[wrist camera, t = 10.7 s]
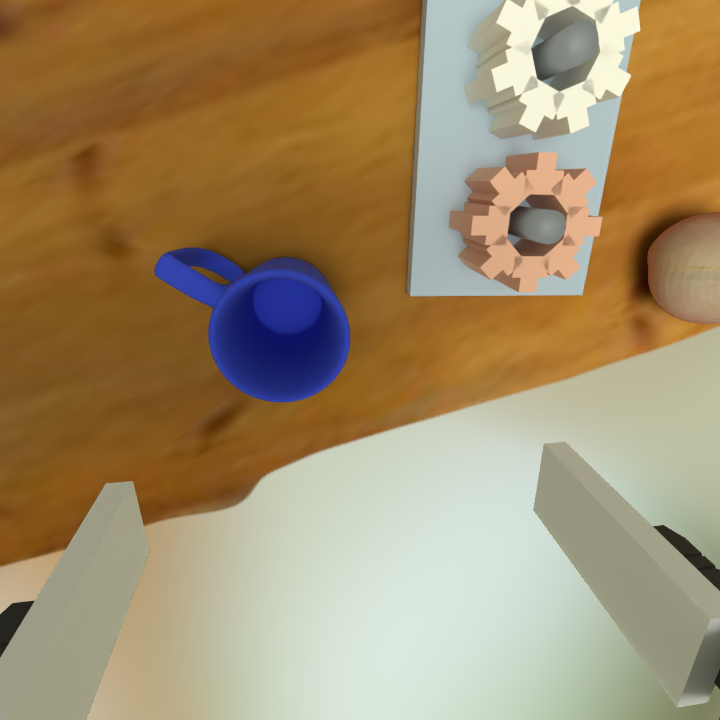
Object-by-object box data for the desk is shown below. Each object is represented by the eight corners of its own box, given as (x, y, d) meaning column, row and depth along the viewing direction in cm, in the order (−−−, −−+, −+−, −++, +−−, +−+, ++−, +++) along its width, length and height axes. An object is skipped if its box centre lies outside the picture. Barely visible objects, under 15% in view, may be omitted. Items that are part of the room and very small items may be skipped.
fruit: (731, 215, 37) (836, 225, 30) (693, 311, 40) (781, 341, 33) (642, 203, 36) (727, 210, 29) (610, 302, 39) (680, 332, 31)
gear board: (406, 291, 37) (430, 320, 29) (424, -35, 29) (463, -109, 22) (572, 290, 38) (635, 317, 31) (631, -22, 30) (734, -87, 23)
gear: (483, 161, 32) (512, 158, 28) (447, 23, 29) (473, -7, 24) (599, 112, 32) (648, 100, 27) (576, -34, 29) (627, -75, 24)
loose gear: (455, 154, 32) (479, 150, 27) (572, 157, 33) (615, 153, 28) (444, 277, 35) (465, 292, 30) (551, 277, 36) (587, 292, 31)
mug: (221, 192, 33) (185, 198, 23) (360, 283, 36) (377, 319, 27) (169, 288, 35) (117, 327, 26) (305, 365, 38) (304, 425, 29)
